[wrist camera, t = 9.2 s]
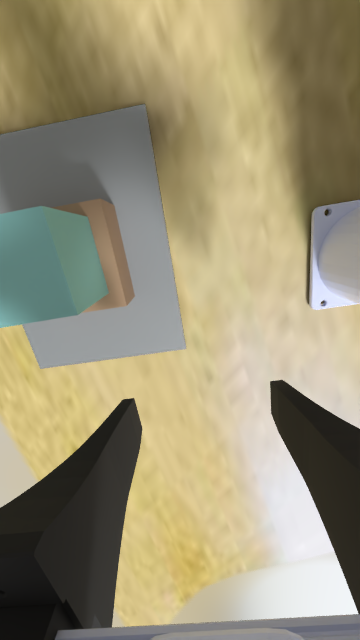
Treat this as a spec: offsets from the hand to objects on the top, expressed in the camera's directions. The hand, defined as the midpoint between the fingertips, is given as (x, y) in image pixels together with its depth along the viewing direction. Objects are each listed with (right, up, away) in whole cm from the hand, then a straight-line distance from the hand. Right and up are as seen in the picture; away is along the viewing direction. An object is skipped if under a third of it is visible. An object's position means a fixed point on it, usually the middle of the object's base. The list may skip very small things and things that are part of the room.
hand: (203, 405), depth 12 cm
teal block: (-9, +8, +3) cm, 13 cm away
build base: (-9, +9, +7) cm, 15 cm away
